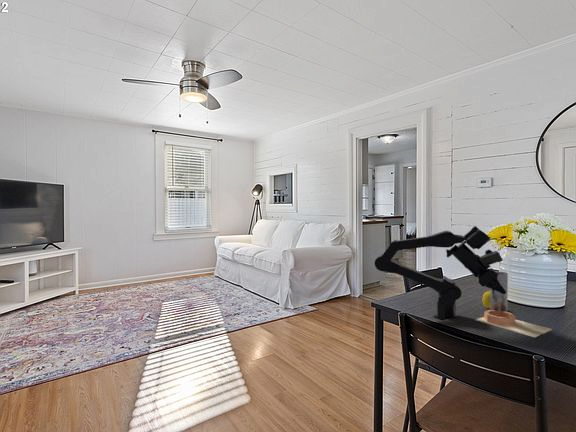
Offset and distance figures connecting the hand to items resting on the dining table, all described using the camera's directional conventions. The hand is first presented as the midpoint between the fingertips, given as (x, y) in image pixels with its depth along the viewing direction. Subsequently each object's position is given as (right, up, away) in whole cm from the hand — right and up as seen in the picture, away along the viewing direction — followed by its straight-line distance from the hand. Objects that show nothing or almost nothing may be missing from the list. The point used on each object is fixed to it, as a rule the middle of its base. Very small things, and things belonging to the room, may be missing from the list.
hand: (503, 291), depth 113 cm
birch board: (+1, -12, -3) cm, 12 cm away
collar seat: (-1, -12, +1) cm, 12 cm away
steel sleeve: (-1, -7, +1) cm, 7 cm away
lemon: (+5, -11, +15) cm, 19 cm away
